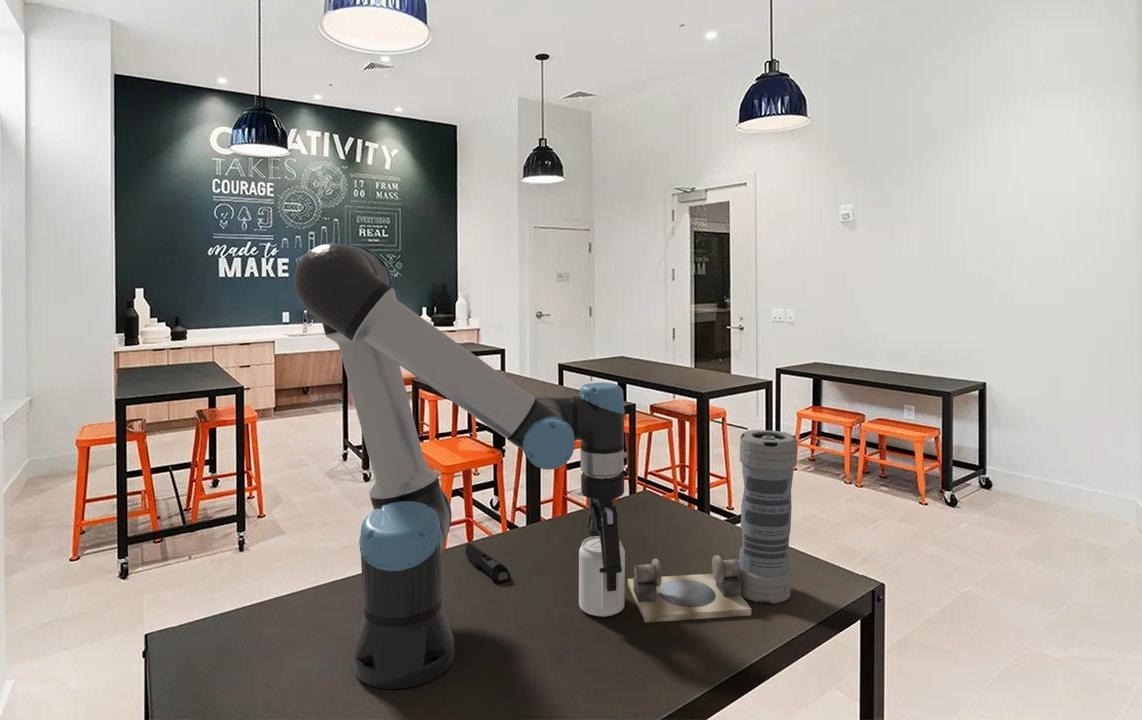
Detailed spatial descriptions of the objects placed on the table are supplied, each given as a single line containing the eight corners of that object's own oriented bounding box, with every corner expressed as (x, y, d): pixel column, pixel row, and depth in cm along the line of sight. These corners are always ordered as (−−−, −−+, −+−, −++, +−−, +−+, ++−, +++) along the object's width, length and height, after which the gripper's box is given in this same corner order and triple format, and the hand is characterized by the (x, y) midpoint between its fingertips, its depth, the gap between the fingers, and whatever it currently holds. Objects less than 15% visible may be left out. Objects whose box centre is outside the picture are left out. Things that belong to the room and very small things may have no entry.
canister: (793, 607, 119) (801, 444, 115) (736, 602, 121) (741, 441, 117) (787, 582, 129) (794, 430, 125) (733, 577, 131) (739, 428, 127)
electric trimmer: (477, 554, 143) (477, 540, 142) (512, 581, 130) (512, 565, 129) (461, 558, 141) (460, 544, 140) (495, 586, 128) (495, 570, 127)
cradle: (645, 622, 114) (645, 578, 113) (627, 584, 128) (628, 545, 127) (751, 615, 117) (752, 572, 116) (723, 578, 130) (724, 540, 129)
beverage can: (633, 607, 119) (634, 543, 118) (604, 624, 114) (604, 557, 112) (599, 592, 125) (599, 531, 123) (569, 608, 119) (569, 544, 118)
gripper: (640, 494, 104) (639, 622, 107) (610, 451, 129) (610, 556, 132) (592, 497, 103) (593, 625, 106) (571, 453, 128) (573, 559, 131)
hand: (603, 587), depth 119 cm, fingers open, 13 cm apart
